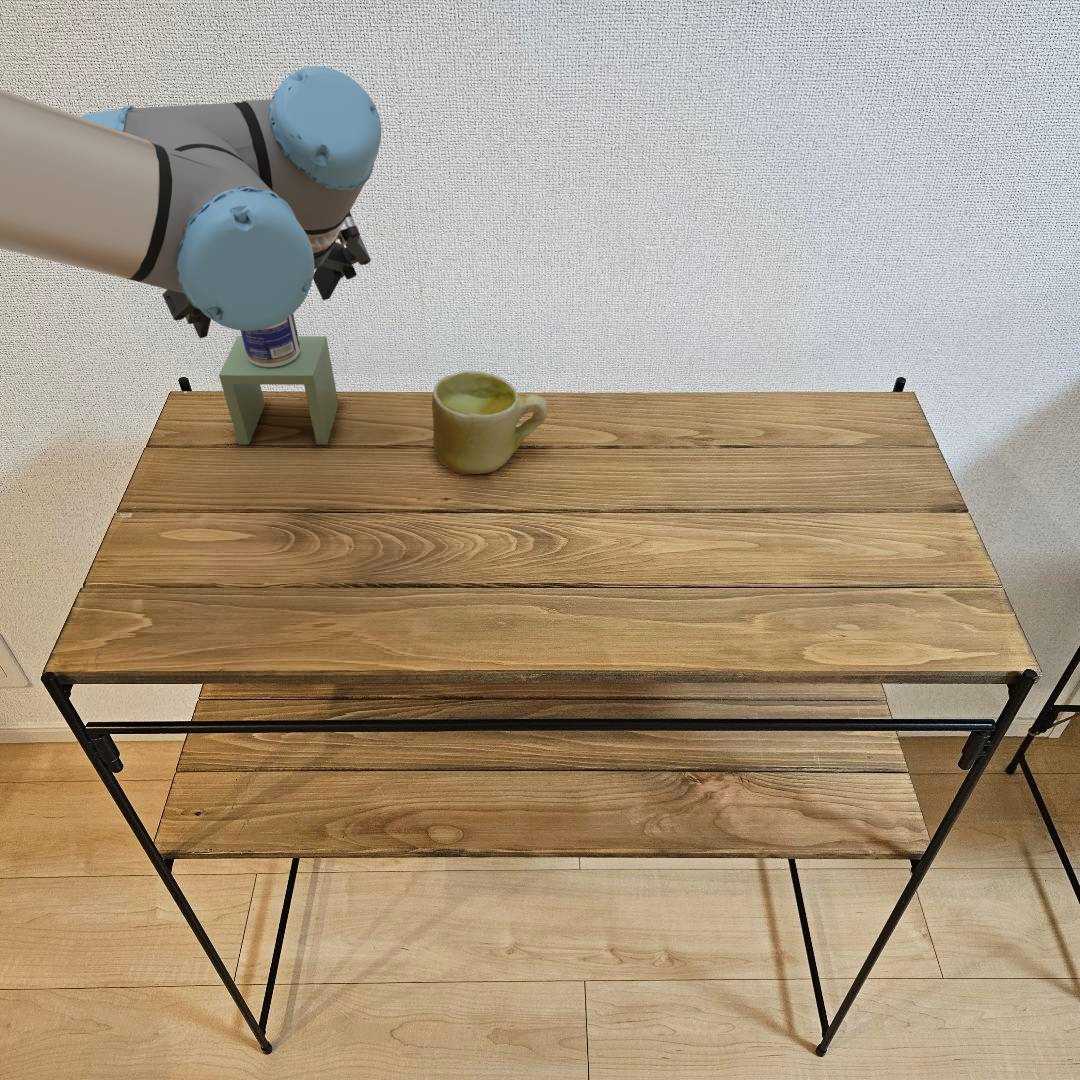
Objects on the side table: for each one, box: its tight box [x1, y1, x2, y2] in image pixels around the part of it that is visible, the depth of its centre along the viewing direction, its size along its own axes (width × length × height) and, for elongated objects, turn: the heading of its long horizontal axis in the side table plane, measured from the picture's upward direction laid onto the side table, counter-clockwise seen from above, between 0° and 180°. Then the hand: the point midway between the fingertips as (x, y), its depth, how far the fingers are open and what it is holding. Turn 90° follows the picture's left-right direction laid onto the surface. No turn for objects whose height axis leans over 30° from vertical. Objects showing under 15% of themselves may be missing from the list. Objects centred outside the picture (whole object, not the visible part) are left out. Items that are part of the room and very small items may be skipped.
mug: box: [431, 370, 549, 475], centre depth 96 cm, size 12×10×10 cm
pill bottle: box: [239, 313, 300, 367], centre depth 93 cm, size 6×6×10 cm
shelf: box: [218, 335, 340, 446], centre depth 100 cm, size 10×8×9 cm
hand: (261, 306), depth 93 cm, fingers open, 13 cm apart
